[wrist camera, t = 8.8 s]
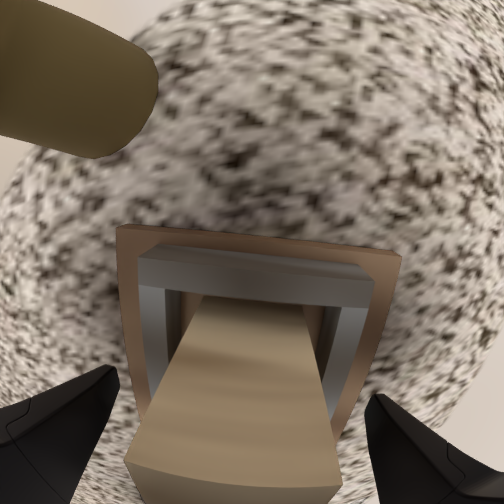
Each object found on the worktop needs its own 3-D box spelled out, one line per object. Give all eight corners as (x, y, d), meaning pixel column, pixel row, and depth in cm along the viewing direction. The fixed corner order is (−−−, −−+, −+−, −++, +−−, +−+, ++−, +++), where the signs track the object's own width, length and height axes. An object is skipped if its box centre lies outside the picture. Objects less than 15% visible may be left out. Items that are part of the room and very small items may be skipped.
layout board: (311, 475, 16) (318, 547, 9) (157, 458, 16) (133, 527, 10) (392, 251, 11) (494, 321, 5) (126, 223, 12) (12, 271, 5)
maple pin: (286, 380, 12) (296, 536, 5) (202, 370, 12) (156, 520, 5) (301, 306, 11) (342, 484, 3) (203, 295, 11) (123, 460, 4)
